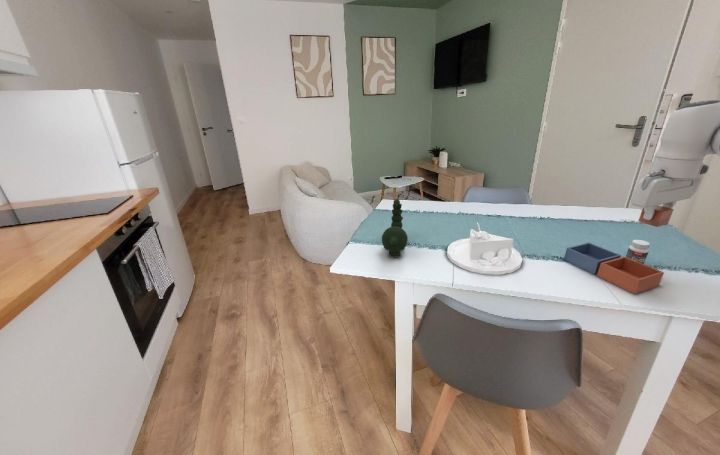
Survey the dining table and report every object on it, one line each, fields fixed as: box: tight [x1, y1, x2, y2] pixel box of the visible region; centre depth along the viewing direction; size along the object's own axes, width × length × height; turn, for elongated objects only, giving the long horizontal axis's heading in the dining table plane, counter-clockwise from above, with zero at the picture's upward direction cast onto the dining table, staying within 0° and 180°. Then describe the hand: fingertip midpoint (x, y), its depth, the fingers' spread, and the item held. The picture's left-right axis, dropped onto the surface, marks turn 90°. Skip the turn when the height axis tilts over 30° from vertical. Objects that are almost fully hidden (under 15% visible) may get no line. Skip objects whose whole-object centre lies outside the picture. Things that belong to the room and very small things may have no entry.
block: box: [637, 205, 674, 228], centre depth 81 cm, size 4×4×4 cm
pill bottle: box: [625, 239, 651, 265], centre depth 93 cm, size 5×5×8 cm
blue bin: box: [563, 241, 622, 275], centre depth 96 cm, size 10×10×5 cm
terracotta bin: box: [596, 256, 665, 295], centre depth 86 cm, size 10×10×5 cm
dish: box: [446, 222, 523, 276], centre depth 102 cm, size 25×25×11 cm
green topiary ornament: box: [381, 198, 409, 258], centre depth 110 cm, size 9×19×25 cm
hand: (655, 217), depth 82 cm, fingers closed on block, 4 cm apart
